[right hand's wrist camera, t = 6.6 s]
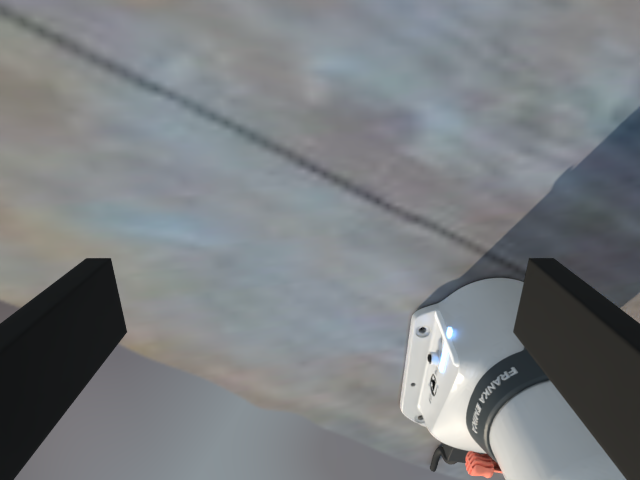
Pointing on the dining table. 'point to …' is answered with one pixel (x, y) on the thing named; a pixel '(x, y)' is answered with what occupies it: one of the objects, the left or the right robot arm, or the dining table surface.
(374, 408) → the dining table surface
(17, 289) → the dining table surface
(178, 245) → the dining table surface
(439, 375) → the left robot arm
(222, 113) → the dining table surface
